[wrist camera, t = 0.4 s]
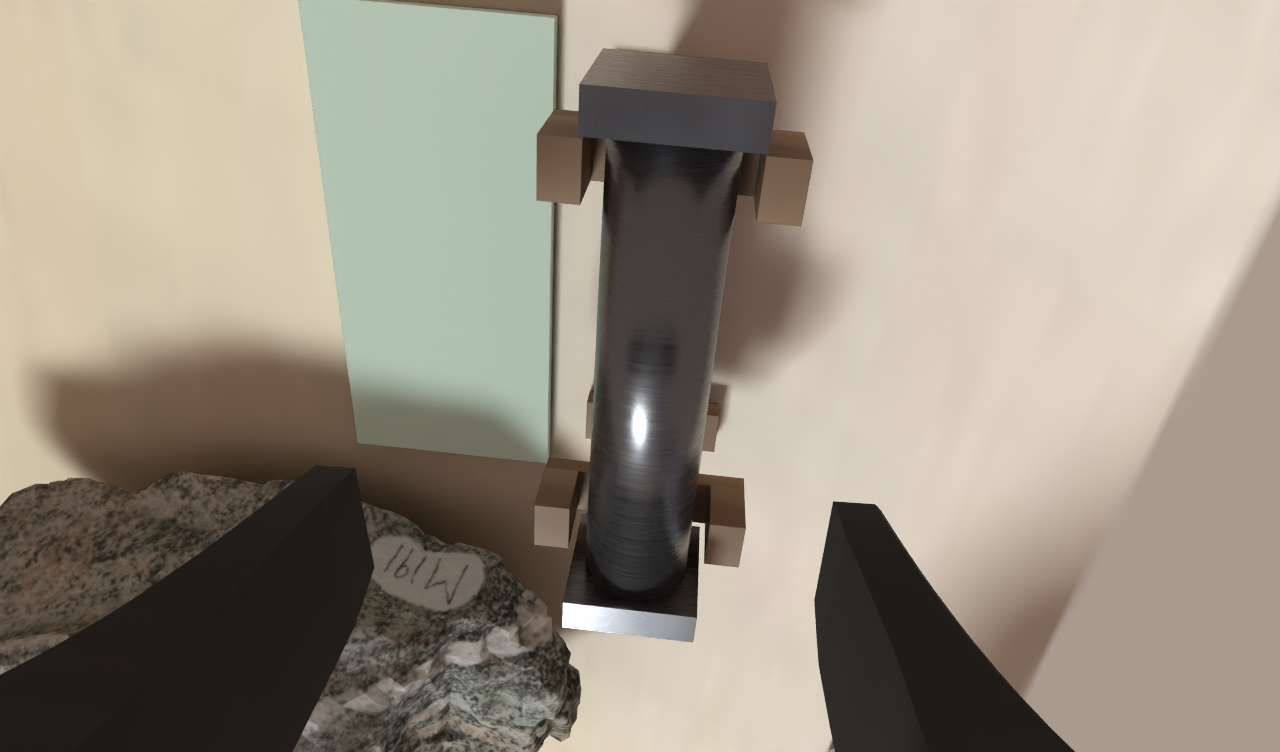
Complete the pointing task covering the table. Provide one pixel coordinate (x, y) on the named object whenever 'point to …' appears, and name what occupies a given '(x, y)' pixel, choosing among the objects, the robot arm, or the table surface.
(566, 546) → the rail stand
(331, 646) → the robot arm
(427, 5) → the mat
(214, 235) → the table surface
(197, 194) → the table surface
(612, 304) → the column with square cap
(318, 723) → the rock
